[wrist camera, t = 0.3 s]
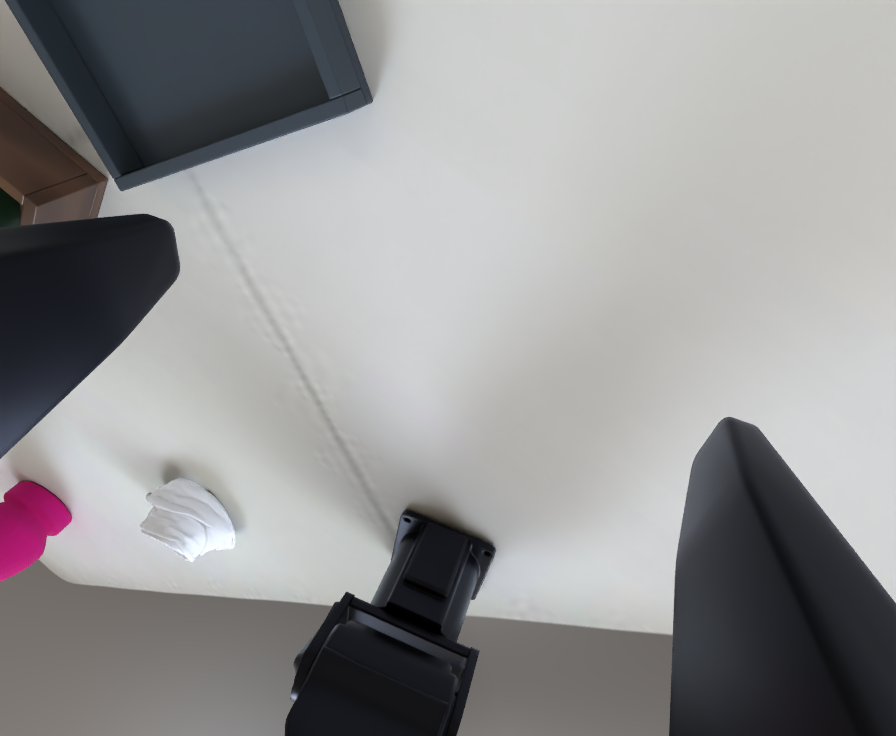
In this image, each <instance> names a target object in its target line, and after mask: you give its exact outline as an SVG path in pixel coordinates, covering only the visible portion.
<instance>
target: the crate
mask: <svg viewBox="0 0 896 736" xmlns="http://www.w3.org/2000/svg"><path fill="white" fill-rule="evenodd" d="M106 184H107V179H106V178H105V177H104V176H103V175H102V174H101V173H99V172H98V171H97V170H96V169H95V168H93V167H92V166H91V165H90V164H89V163H88V162H86V161H85V160H84V159H83V158H82V157H81V156H79V155H78V154H77V153H76V152H75V151H74V150H72V149H71V148H70V147H69V146H68V145H67V144H65V143H64V142H63V141H62V140H61V139H60V138H58V137H57V136H56V135H55V134H54V133H52V132H51V131H50V130H49V129H48V128H47V127H45V126H44V125H43V124H42V123H41V122H40V121H38V120H37V119H36V118H35V117H34V116H33V115H31V114H30V113H29V112H28V111H27V110H26V109H24V108H23V107H22V106H21V105H20V104H19V103H17V102H16V101H15V100H14V99H13V98H11V97H10V96H9V95H8V94H7V93H6V92H4V91H3V90H2V89H1V88H0V187H1V188H2V189H3V190H4V191H6V192H7V193H8V194H9V195H10V196H12V197H13V198H14V199H15V200H17V201H18V202H19V205H20V212H21V217H20V222H19V225H18V226H21V225H31V224H41V223H52V222H62V221H73V220H83V219H93V218H97V215H98V212H99V208H100V205H101V201H102V198H103V194H104V191H105V187H106Z"/></svg>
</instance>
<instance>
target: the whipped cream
mask: <svg viewBox="0 0 896 736" xmlns="http://www.w3.org/2000/svg"><path fill="white" fill-rule="evenodd" d="M146 500H147V501H148V502H149V503H150V504H152V505H153V506H154V507H153V508H152V510H151V511H150V512H149V513H148V516H147V518H146V519H145V520H144V521H143V522H142V523H141V524H140V526H141V528H142V533H143V534H144V535H146V536H148V537H150V538H152V539H155V540H157V541H159V542H161V543H163V544H165V545H167V546H168V547H170V548H171V549H172V550H173V551H174V552H175V553H176V554H177V555H178V556H179V557H181V558H182V559H184V560H186V561H190V562H194V561H195V557H196V556H197V555H198V556H201V555H203V554H204V553H205V552H207V551H210V550H213V549H214V550H216V551H219V550H220V549H226V550H228V549H232V548H233V547H234V546H235V530H234V527H233V525H232V522H231V520H230V518H229V516H228V514H227V512H226V510H225V508H224V507H223V506H222V505H221V503H220V502H219V501H218V500H217V499H216V498H215V497H214V496H213V495H212V494H211V493H209V492H207V491H205V490H204V488H203V487H201V486H200V485H198V484H196V483H194V482H192V481H190V480H187V479H183V478H179V477H178V479H176V480H172V481H170V482H169V483H168V484H167V485H165V486H161V487H159V488H158V489H156V490H155V491H153V492H152V493H151V492H150V493H148V494H147V495H146Z"/></svg>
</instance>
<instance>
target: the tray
mask: <svg viewBox="0 0 896 736" xmlns="http://www.w3.org/2000/svg"><path fill="white" fill-rule="evenodd" d="M5 1H6V3H7V5H8V6H9V8H10V10H11V11H12V13H13V14H14V16H15V18H16V19H17V21H18V23H19V24H20V26H21V28H22V29H23V31H24V33H25V34H26V36H27V38H28V39H29V41H30V42H31V44H32V46H33V47H34V49H35V51H36V52H37V54H38V56H39V57H40V59H41V61H42V62H43V64H44V66H45V67H46V69H47V70H48V72H49V74H50V75H51V77H52V79H53V80H54V82H55V84H56V85H57V87H58V89H59V90H60V92H61V94H62V95H63V97H64V99H65V100H66V102H67V103H68V105H69V107H70V108H71V110H72V112H73V113H74V115H75V117H76V118H77V120H78V122H79V123H80V125H81V127H82V128H83V130H84V131H85V133H86V135H87V136H88V138H89V140H90V141H91V143H92V145H93V146H94V148H95V150H96V151H97V153H98V155H99V156H100V158H101V160H102V161H103V163H104V164H105V166H106V168H107V169H108V171H109V173H110V174H111V176H112V178H115V179H114V181H115V183H116V184H117V186H118V188H119V189H120V191H124V190H127V189H130V188H133V187H136V186H139V185H142V184H145V183H148V182H151V181H153V180H156V179H159V178H162V177H165V176H168V175H171V174H174V173H177V172H180V171H182V170H185V169H188V168H191V167H194V166H197V165H200V164H203V163H206V162H209V161H211V160H214V159H217V158H220V157H223V156H226V155H229V154H232V153H235V152H237V151H240V150H243V149H246V148H249V147H252V146H255V145H258V144H261V143H264V142H266V141H269V140H272V139H275V138H278V137H281V136H284V135H287V134H290V133H293V132H295V131H298V130H301V129H304V128H307V127H310V126H313V125H316V124H319V123H321V122H324V121H327V120H330V119H333V118H336V117H339V116H342V115H345V114H348V113H350V112H352V111H354V110H357V109H359V108H361V107H363V106H365V105H368V104H370V103H372V102H373V99H372V97H371V94H370V91H369V88H368V85H367V82H366V80H365V77H364V74H363V71H362V68H361V65H360V63H359V60H358V57H357V54H356V51H355V48H354V45H353V43H352V40H351V37H350V34H349V31H348V28H347V26H346V23H345V20H344V17H343V14H342V11H341V9H340V6H339V3H338V0H5Z"/></svg>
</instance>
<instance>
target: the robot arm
mask: <svg viewBox="0 0 896 736" xmlns="http://www.w3.org/2000/svg"><path fill="white" fill-rule="evenodd" d="M179 272H180V262H179V256H178V250H177V244H176V238H175V232H174V229H173V227H172V225H171V224H170V223H169V222H168V221H166V220H163V219H160V218H158V217H155V216H152V215H149V214H135V215H125V216H114V217H104V218H93V219H83V220H73V221H62V222H52V223H41V224H31V225H21V226H10V227H0V459H1V458H2V457H3V456H4V455H5V454H6V453H7V452H8V451H9V450H10V449H11V448H12V447H13V446H14V445H15V444H16V443H17V442H18V441H20V440H21V439H22V438H23V437H24V436H25V435H26V434H27V433H28V432H29V431H30V430H31V429H32V428H33V427H34V426H35V425H36V424H37V423H38V422H40V421H41V420H42V419H43V418H44V417H45V416H46V415H47V414H48V413H49V412H50V411H51V410H52V409H53V408H54V407H55V406H56V405H57V404H59V403H60V402H61V401H62V400H63V399H64V398H65V397H66V396H67V395H68V394H69V393H70V392H71V391H72V390H73V389H74V388H75V387H76V386H77V385H79V384H80V383H81V382H82V381H83V380H84V379H85V378H86V377H87V376H88V375H89V374H90V373H91V372H92V371H93V370H94V369H95V368H96V367H97V366H99V365H100V364H101V363H102V362H103V361H104V360H105V359H106V358H107V357H108V356H109V355H110V354H111V353H112V352H113V351H114V350H115V349H116V348H117V347H118V346H119V345H120V344H121V343H122V342H123V341H124V340H125V339H126V338H127V337H128V336H129V334H130V333H131V332H132V331H133V330H134V329H135V328H136V326H137V325H138V324H139V323H140V322H141V320H142V319H143V318H144V317H145V316H146V315H147V313H148V312H149V311H150V310H151V309H152V308H153V306H154V305H155V304H156V303H157V302H158V301H159V299H160V298H161V297H162V296H163V295H164V294H165V292H166V291H167V290H168V289H169V288H170V287H171V285H172V284H173V283H174V282H175V281H176V279H177V277H178V275H179ZM495 552H496V549H495V547H494V546H492V545H491V544H488V543H486V542H484V541H481V540H479V539H477V538H474V537H472V536H469V535H467V534H465V533H462V532H460V531H457V530H455V529H453V528H450V527H448V526H446V525H443V524H441V523H438V522H436V521H434V520H431V519H429V518H426V517H424V516H422V515H419V514H417V513H415V512H412V511H409V510H405V511H403V513H402V515H401V517H400V522H399V526H398V531H397V535H396V540H395V544H394V549H393V554H392V558H391V563H390V565H389V567H388V569H387V571H386V573H385V575H384V577H383V579H382V581H381V583H380V585H379V587H378V589H377V591H376V593H375V595H374V598H373V600H372V602H371V604H369V603H367V602H365V601H363V600H360V599H358V598H356V597H354V596H355V595H353V594H351V593H349V592H346V593H345V595H344V596H343V598H342V599H341V601H340V602H335V603H334V605H333V607H332V609H331V610H330V612H329V614H328V616H327V618H326V619H325V621H324V623H323V624H322V626H321V627H320V629H319V630H318V631H317V632H316V634H315V635H314V636H313V637H312V638H311V640H310V641H309V642H308V643H307V644H306V646H305V647H304V648H303V649H302V650H301V651H300V653H299V654H298V655H297V657H296V659H295V661H294V669H295V673H296V676H295V679H294V685H293V687H292V691H291V696H290V699H291V701H293V702H294V704H293V706H292V708H291V710H290V712H289V714H288V716H287V719H286V724H285V736H456V735H457V731H458V729H459V725H460V722H461V719H462V715H463V711H464V708H465V704H466V700H467V696H468V693H469V688H470V685H471V681H472V677H473V673H474V669H475V666H476V662H477V658H478V654H479V650H477V649H475V648H472V647H471V648H468V647H466V646H464V645H462V644H459V643H457V639H458V636H459V633H460V630H461V627H462V624H463V621H464V618H465V615H466V612H467V609H468V606H469V603H470V600H474V599H475V598H476V596H477V594H478V591H479V589H480V587H481V585H482V582H483V580H484V578H485V576H486V573H487V571H488V569H489V567H490V564H491V562H492V560H493V558H494V555H495ZM669 736H896V603H895V602H894V600H893V599H892V598H891V597H890V595H889V594H888V593H887V591H886V590H885V589H884V588H883V586H882V585H881V584H880V583H879V581H878V580H877V579H876V577H875V576H874V575H873V574H872V572H871V571H870V570H869V569H868V567H867V566H866V565H865V563H864V562H863V561H862V560H861V558H860V557H859V556H858V554H857V553H856V552H855V551H854V549H853V548H852V547H851V546H850V544H849V543H848V542H847V540H846V539H845V538H844V537H843V535H842V534H841V533H840V532H839V530H838V529H837V528H836V526H835V525H834V524H833V523H832V521H831V520H830V519H829V517H828V516H827V515H826V514H825V512H824V511H823V510H822V509H821V507H820V506H819V505H818V503H817V502H816V501H815V500H814V498H813V497H812V496H811V495H810V493H809V492H808V491H807V489H806V488H805V487H804V486H803V484H802V483H801V482H800V480H799V479H798V478H797V477H796V475H795V474H794V473H793V472H792V470H791V469H790V468H789V466H788V465H787V464H786V463H785V461H784V460H783V459H782V458H781V456H780V455H779V454H778V452H777V451H776V450H775V449H774V447H773V446H772V445H771V443H770V442H769V441H768V440H767V438H766V437H765V436H764V435H763V433H762V432H761V431H760V430H759V428H758V427H756V426H755V425H752V424H749V423H746V422H744V421H741V420H738V419H735V418H732V417H726V418H724V419H723V420H721V421H720V422H719V423H718V425H717V426H716V428H715V429H714V430H713V432H712V433H711V435H710V436H709V437H708V439H707V440H706V442H705V443H704V445H703V446H702V447H701V449H700V450H699V452H698V453H697V455H696V457H695V459H694V461H693V464H692V468H691V473H690V479H689V485H688V491H687V497H686V502H685V508H684V514H683V520H682V526H681V532H680V538H679V544H678V551H677V558H676V570H675V591H674V619H673V647H672V675H671V702H670V730H669Z"/></svg>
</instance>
